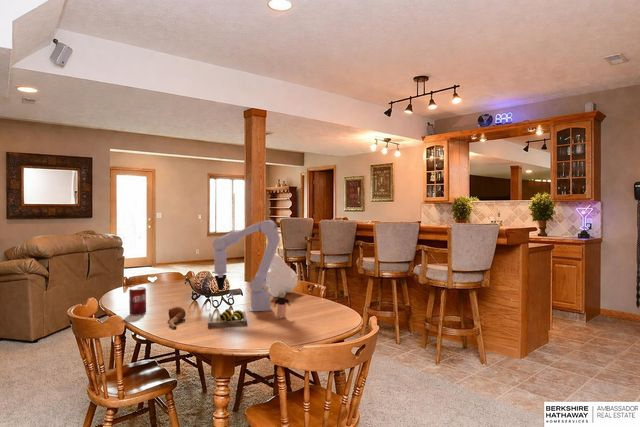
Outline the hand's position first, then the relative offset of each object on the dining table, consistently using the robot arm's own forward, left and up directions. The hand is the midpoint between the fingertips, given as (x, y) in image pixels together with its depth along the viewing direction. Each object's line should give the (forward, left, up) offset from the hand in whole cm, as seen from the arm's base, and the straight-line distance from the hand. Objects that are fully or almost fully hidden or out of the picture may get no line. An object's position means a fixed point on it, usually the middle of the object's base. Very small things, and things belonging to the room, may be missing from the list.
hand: (220, 290), depth 207 cm
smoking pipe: (+18, +21, -10) cm, 29 cm away
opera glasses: (-5, +24, -10) cm, 26 cm away
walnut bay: (-3, +24, -10) cm, 26 cm away
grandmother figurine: (-27, +24, -10) cm, 38 cm away
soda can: (+38, -1, -10) cm, 39 cm away
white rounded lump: (-32, -29, -10) cm, 44 cm away
